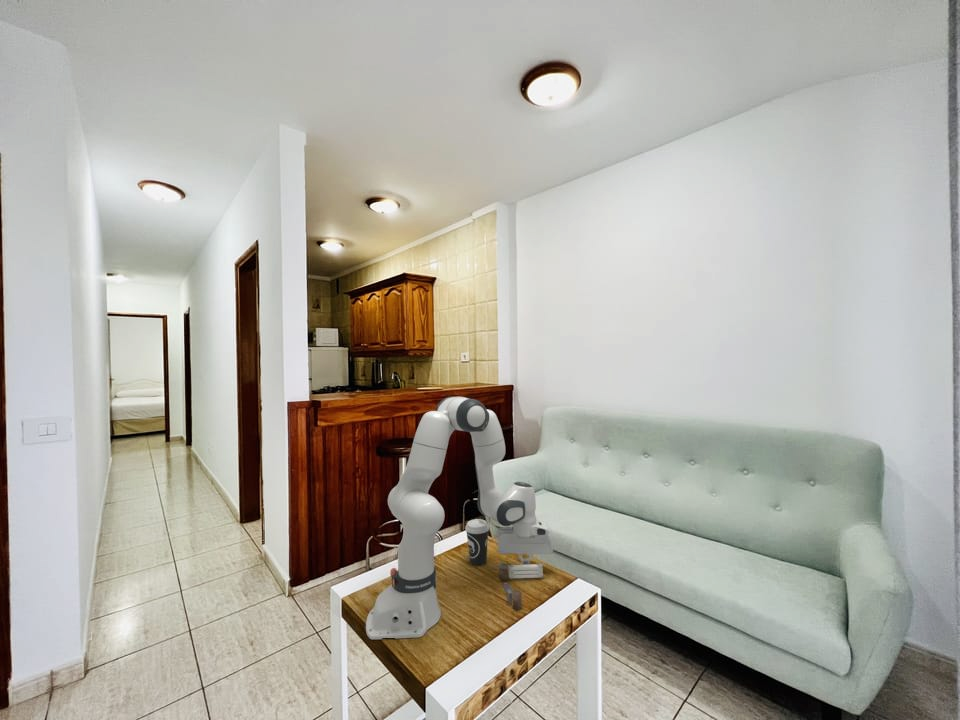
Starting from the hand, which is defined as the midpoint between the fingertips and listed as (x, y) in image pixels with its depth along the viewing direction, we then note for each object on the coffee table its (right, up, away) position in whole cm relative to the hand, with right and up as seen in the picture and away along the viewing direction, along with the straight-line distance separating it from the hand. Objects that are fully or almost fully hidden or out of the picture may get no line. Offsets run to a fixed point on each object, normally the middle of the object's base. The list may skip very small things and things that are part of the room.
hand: (525, 564), depth 140 cm
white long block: (0, -2, -4) cm, 4 cm away
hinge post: (-8, -3, -4) cm, 10 cm away
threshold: (-7, -3, -11) cm, 13 cm away
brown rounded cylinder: (-6, -3, -18) cm, 19 cm away
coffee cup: (-17, -4, +10) cm, 20 cm away
